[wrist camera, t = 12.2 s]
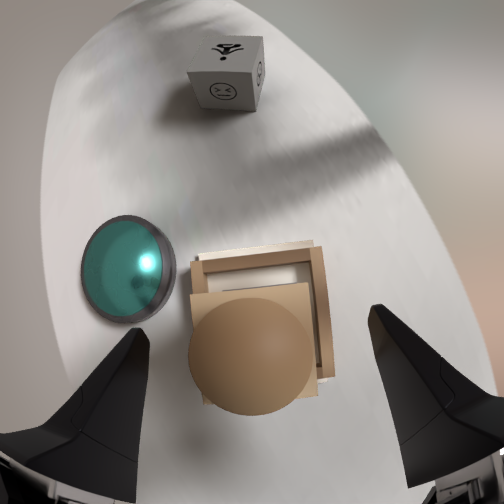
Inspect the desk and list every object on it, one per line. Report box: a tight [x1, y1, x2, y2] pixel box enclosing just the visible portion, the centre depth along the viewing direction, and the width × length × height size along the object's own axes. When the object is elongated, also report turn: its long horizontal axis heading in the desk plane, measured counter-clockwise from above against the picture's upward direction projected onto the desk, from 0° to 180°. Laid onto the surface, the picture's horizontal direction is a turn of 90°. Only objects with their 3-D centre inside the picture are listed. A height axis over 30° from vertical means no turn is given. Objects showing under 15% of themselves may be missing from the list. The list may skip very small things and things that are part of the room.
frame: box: [190, 240, 335, 383], centre depth 18 cm, size 10×9×2 cm
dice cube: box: [187, 36, 265, 112], centre depth 20 cm, size 5×5×5 cm
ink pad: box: [81, 215, 176, 323], centre depth 19 cm, size 8×8×2 cm
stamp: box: [188, 282, 318, 416], centre depth 13 cm, size 5×5×11 cm
